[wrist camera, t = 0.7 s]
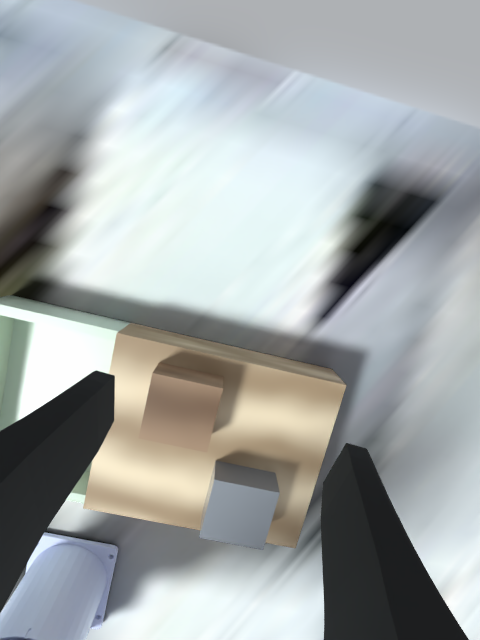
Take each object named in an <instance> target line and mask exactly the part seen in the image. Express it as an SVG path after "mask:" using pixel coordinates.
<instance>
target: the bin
mask: <svg viewBox="0 0 480 640" xmlns="http://www.w3.org/2000/svg"><path fill="white" fill-rule="evenodd" d="M129 324H130V322H126V321H121V320H117V319H113V318H108V317H104V316H100V315H95V314H91V313H87V312H82V311H78V310H74V309H69V308H65V307H61V306H56V305H52V304H48V303H43V302H39V301H35V300H30V299H26V298H22V297H17V296H13V295H10V296H5V297H0V431H1V430H3V429H4V428H6V427H8V426H10V425H11V424H13V423H15V422H16V421H18V420H20V419H22V418H23V417H25V416H26V415H28V414H30V413H31V412H33V411H34V410H36V409H38V408H39V407H41V406H42V405H44V404H45V403H47V402H49V401H50V400H52V399H53V398H55V397H56V396H58V395H59V394H61V393H62V392H64V391H65V390H67V389H68V388H70V387H71V386H73V385H74V384H76V383H77V382H79V381H80V380H81V379H83V378H84V377H86V376H87V375H89V374H90V373H92V372H94V371H96V370H97V371H100V372H104V373H107V374H109V371H110V366H111V360H112V355H113V350H114V345H115V339H116V334H117V332H119V331H120V330H121V329H123V328H124V327H126V326H127V325H129ZM91 465H92V462H91V463H90V465H89V466H88V468H87V469H86V471H85V472H84V474H83V475H82V477H81V478H80V480H79V481H78V483H77V484H76V485H75V487H74V488H73V490H72V491H71V493H70V494H69V496H68V497H67V499H66V500H67V501H72V502H78V503H83V504H84V502H85V496H86V491H87V486H88V481H89V475H90V470H91Z"/></svg>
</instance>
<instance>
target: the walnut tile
mask: <svg viewBox="0 0 480 640" xmlns="http://www.w3.org/2000/svg"><path fill="white" fill-rule="evenodd" d="M223 378H224V377H223V376H219V375H214V374H210V373H205V372H201V371H196V370H192V369H187V368H183V367H178V366H174V365H170V364H165V363H161V362H159V363H158V365H157V366H156V368H155V370H154V371H153V373H152V377H151V382H150V387H149V391H148V396H147V401H146V405H145V410H144V415H143V419H142V424H141V429H140V433H139V439H144V440H148V441H153V442H158V443H163V444H168V445H173V446H178V447H182V448H187V449H192V450H197V451H202V452H207V451H208V447H209V443H210V439H211V435H212V431H213V427H214V423H215V419H216V415H217V411H218V407H219V403H220V399H221V395H222V391H223Z"/></svg>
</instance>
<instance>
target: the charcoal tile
mask: <svg viewBox="0 0 480 640" xmlns="http://www.w3.org/2000/svg"><path fill="white" fill-rule="evenodd" d="M279 494H280V491H279V487H278V482H277V477H276V473H275V472H270V471H265V470H260V469H255V468H250V467H245V466H240V465H236V464H231V463H226V462H221V461H216V460H215V464H214V468H213V472H212V476H211V480H210V484H209V488H208V492H207V495H206V499H205V503H204V507H203V511H202V516H201V526H200V536H199V538H202V539H208V540H213V541H218V542H224V543H229V544H234V545H240V546H245V547H250V548H256V549H261V550H263V548H264V545H265V542H266V538H267V535H268V531H269V528H270V525H271V521H272V518H273V515H274V511H275V508H276V504H277V501H278V498H279Z"/></svg>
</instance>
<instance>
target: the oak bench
mask: <svg viewBox="0 0 480 640" xmlns="http://www.w3.org/2000/svg"><path fill="white" fill-rule="evenodd" d="M159 362H161V363H165V364H170V365H174V366H178V367H183V368H187V369H192V370H196V371H201V372H205V373H210V374H214V375H219V376H223V377H224V378H223V391H222V395H221V399H220V403H219V407H218V411H217V415H216V419H215V423H214V427H213V431H212V435H211V439H210V443H209V447H208V451H207V452H202V451H197V450H192V449H187V448H182V447H178V446H173V445H168V444H163V443H158V442H153V441H148V440H144V439H139V433H140V429H141V424H142V419H143V415H144V410H145V405H146V401H147V396H148V391H149V387H150V382H151V377H152V373H153V371H154V370H155V368H156V366H157V365H158V363H159ZM109 374H111V375H114V376H115V404H114V422H113V424H112V426H111V428H110V430H109V432H108V434H107V436H106V438H105V440H104V442H103V444H102V445H101V447H100V449H99V451H98V453H97V454H96V456H95V457H94V459H93V460H92V465H91V470H90V475H89V481H88V486H87V491H86V496H85V502H84V507H83V508H84V509H90V510H95V511H100V512H106V513H111V514H116V515H121V516H127V517H132V518H137V519H143V520H148V521H153V522H159V523H164V524H169V525H174V526H180V527H185V528H190V529H196V530H200V526H201V516H202V511H203V507H204V503H205V499H206V495H207V492H208V488H209V484H210V480H211V476H212V472H213V468H214V464H215V460H216V461H221V462H226V463H231V464H236V465H240V466H245V467H250V468H255V469H260V470H265V471H270V472H275V473H276V477H277V482H278V487H279V491H280V494H279V498H278V501H277V504H276V508H275V511H274V515H273V518H272V521H271V525H270V528H269V531H268V535H267V538H266V542H265V543H270V544H275V545H280V546H286V547H291V548H296V545H297V542H298V539H299V536H300V532H301V529H302V526H303V523H304V520H305V516H306V513H307V510H308V507H309V504H310V500H311V497H312V494H313V491H314V488H315V484H316V481H317V478H318V475H319V472H320V468H321V465H322V462H323V459H324V456H325V452H326V449H327V446H328V443H329V440H330V436H331V433H332V430H333V427H334V424H335V420H336V417H337V414H338V411H339V408H340V404H341V401H342V398H343V395H344V392H345V388H346V384H345V383H344V382H343V381H342V380H341V379H340V377H339V376H338V375H337V374H336V373H335V372H334V371H333V370H332V369H330V368H325V367H321V366H317V365H312V364H308V363H304V362H299V361H295V360H291V359H286V358H282V357H277V356H273V355H269V354H264V353H260V352H256V351H251V350H247V349H243V348H238V347H234V346H230V345H225V344H221V343H217V342H212V341H208V340H204V339H199V338H195V337H191V336H186V335H182V334H178V333H173V332H169V331H165V330H160V329H156V328H152V327H147V326H143V325H139V324H134V323H130V324H129V325H127V326H126V327H124V328H123V329H121V330H120V331H119V332H117V334H116V339H115V345H114V350H113V355H112V360H111V366H110V371H109Z"/></svg>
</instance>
